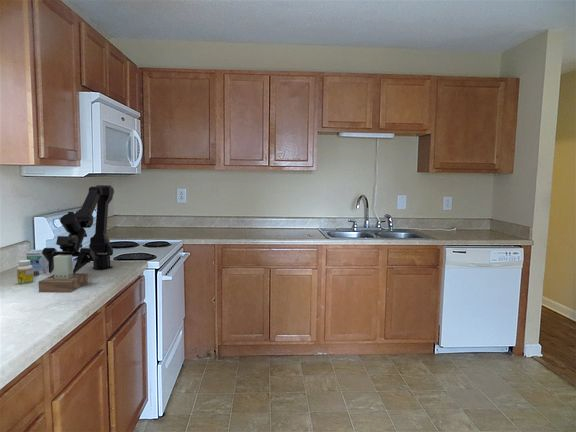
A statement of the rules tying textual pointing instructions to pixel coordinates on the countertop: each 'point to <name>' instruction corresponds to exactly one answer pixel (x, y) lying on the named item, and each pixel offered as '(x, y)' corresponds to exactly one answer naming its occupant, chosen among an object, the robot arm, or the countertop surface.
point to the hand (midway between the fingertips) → (61, 272)
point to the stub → (63, 267)
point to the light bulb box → (38, 262)
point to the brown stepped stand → (63, 283)
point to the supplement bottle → (25, 272)
